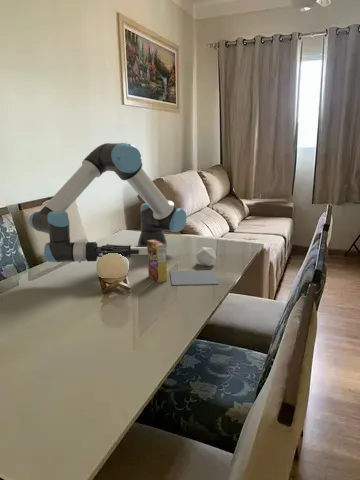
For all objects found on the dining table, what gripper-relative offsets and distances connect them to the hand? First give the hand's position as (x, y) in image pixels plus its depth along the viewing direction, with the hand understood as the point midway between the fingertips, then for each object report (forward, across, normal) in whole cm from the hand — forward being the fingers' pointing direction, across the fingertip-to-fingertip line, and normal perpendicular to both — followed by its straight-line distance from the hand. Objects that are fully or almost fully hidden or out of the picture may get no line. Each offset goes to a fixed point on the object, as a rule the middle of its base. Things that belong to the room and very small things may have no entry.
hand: (147, 250), depth 151 cm
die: (+26, -18, -12) cm, 33 cm away
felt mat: (+18, -1, -12) cm, 22 cm away
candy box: (+4, -1, -12) cm, 13 cm away
